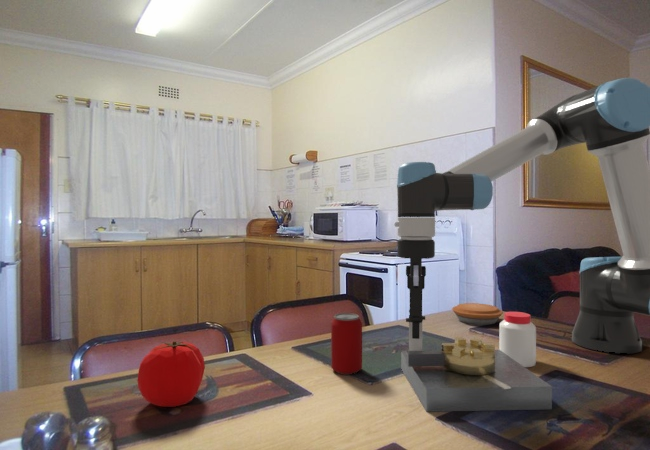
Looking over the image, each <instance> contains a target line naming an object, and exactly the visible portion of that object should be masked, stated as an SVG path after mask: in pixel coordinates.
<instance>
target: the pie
mask: <svg viewBox="0 0 650 450" xmlns="http://www.w3.org/2000/svg"><path fill="white" fill-rule="evenodd" d="M451 310H452V312H453V313H454V314H455V316H456V317H457V319H458V320H459V321H460V322H461V323H465V324H469V325H477V326H489V325H491V326H492V325H495V324H496V323H497V322H498V320H499V318H500V317H501V316H502V315H503V313H504V311H502V310H501V309H500V308H498V307H497V306H494V305H491V304H486V303H479V302H478V303H477V302H476V303H475V302H467V303H466V302H465V303H464V302H463V303H458V304H457V305H456V306H453V307H452V308H451Z"/></svg>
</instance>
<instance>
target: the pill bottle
mask: <svg viewBox="0 0 650 450" xmlns="http://www.w3.org/2000/svg"><path fill="white" fill-rule="evenodd" d="M531 317H532V316H531V314H529V313H526V312H521V311H506V312H504V319H503V320H501V321H500V322H499V325H498V328H499V329H498V330H499V331H498V334H499V336H498V337H499V338H498V341H499V342H498V350H501V351H502V352H503V353H505V354H506V355H508V356H509V357H511V358H512V359H513V360H515V361H516V362H518V363H519V364H521V365H522V366H523V367H525V368H531V367H535V366H536V364H537V327H536V325H535V324H533V322H532V321H531V319H532V318H531Z"/></svg>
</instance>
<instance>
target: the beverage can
mask: <svg viewBox="0 0 650 450" xmlns="http://www.w3.org/2000/svg"><path fill="white" fill-rule="evenodd" d="M330 326H331V327H330V329H331V331H330V332H331V334H330V337H331V339H330V342H331V343H330V348H331V349H330V350H331V351H330V352H331V353H330V355H331V356H330V359H331V360H330V362H331V363H330V364H331V369H333V370H334V371H335V372H336V373H338V374H341V375H353V374H352V373H354V374H356V373H357V372H360V371H361V370H362V368H363V322H362V320H361V319H360V315H358V314H356V313H352V312H351V313H350V312H342V313H341V312H340V313H336V314H334V317H333V319H332V320H331V325H330ZM355 372H356V373H355Z"/></svg>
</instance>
